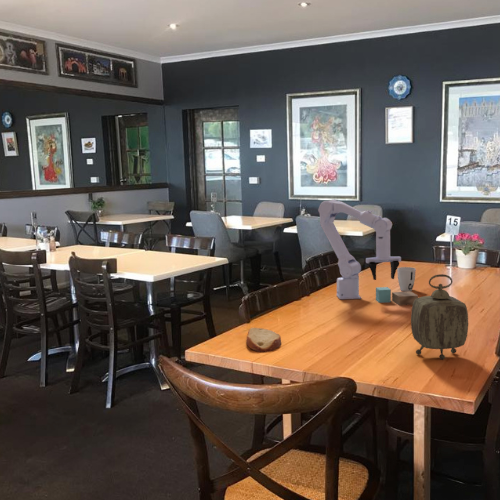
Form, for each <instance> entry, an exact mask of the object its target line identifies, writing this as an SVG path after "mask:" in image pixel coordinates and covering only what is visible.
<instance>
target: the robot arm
mask: <svg viewBox="0 0 500 500" xmlns="http://www.w3.org/2000/svg"><path fill="white" fill-rule="evenodd" d="M317 211H318V214H319V224H320V226H321V228H322V231H323V232H324V234H325V236H326V238H327V240H328V241H329V244H330V246H331V247H332V250H333V252H334V253H335V256H336V257H337V259H338V261H337V266H338V268H339V273H340V275H341V276H340V277H337V278H336V297H337V298H338V299H340V300H356V299H360V300H361V299H362V296H360V294H359V293H360V282H359V281H360V277H359V274H360V273H361V271H362V265H361V264H360V262H359V261H357V260H356V258H355V256H353V255H352V254H351V253H350V252H349V249H348V248H347V246H346V244H345V243H344V241H343V239H342V236H341V235H340V233H339V231H338V229H337V228H336V226H335V224H334V222H335V219H336V216H337V215H338V214H339V213H342V214H345V215H348V216H351V217H353V218H356V219H358V221H359V223H360V224H362V225H364V226H367V227H369V228H371V229H373V230H374V231H375V235H376V236H375V242H376V243H375V245H376V247H375V248H376V249H375V252H376V253H375V254H376V255H375V256H374V257H366V258H365V263H366V264H368V268H369V269H370V272H371V274H372V275H371V276H372V279H373V280H374V281H377V263H389V264H390V265H389V266H390V279H392V280H394V279H395V276H396V272H397V268H399V266H400V262H401V263H402V257H401V256H393V255H392V256H391V230H392V227H393V223H392V221H391V219H389V218H388V217H382V215H378V214H375V213H373V212H372V211H373V210H364V211H361V210H359V209H356V208H355V207H353V206H351V205H349V204H347V203H345V202H343V201H341V200H340V201H339V200H338V199H331V200H330V199H329V200H324V201H321V203H320V204H319V207H318V209H317Z"/></svg>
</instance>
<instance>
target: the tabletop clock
mask: <svg viewBox="0 0 500 500" xmlns="http://www.w3.org/2000/svg"><path fill="white" fill-rule="evenodd" d="M440 277H443V278H447V279H449V280H450V283H449V284H446V285H443V284H442V283H439V284H438V286H435V285H432V283H431V282H432V280H433V279H435V278H440ZM428 284H429V286H430V287H431V288H433V289H435V290H434V291H433V292H432V293H431V295H424V296H421V297H420V296H418V298H417V299H415V300H414V303H413V305H411V306H412V307H411V314H410V325H411V326H410V328H411V334H412V336H413V339H414V341H416V342H417V343H418V344H419V345H420V348H419V349H416V350H415V354H416V355H418V356H419V355H421V354H422V350H423V349H424V348H426V349H429V350H430V349H431V350H440V355H438V356H439V360H442V361H443V360H445V359H446V356H445V355H444V350H448V349H450V353H452V354H456V353H457V348H460V347H462V346H465V343H466V341H467V338H468V333H469V312H468V307H467V305H466V303H465V302H463V301H462V300H459V299H457V298H456V297H453V296H450V294H449V292H448V291H447V290H445V289H447V288H449V287H451V286H452V285H453V278H452V277H451V276H449V274H448V275H447V274H444V273H443V274H435V275H432V276H431V277H430V278H429V280H428Z"/></svg>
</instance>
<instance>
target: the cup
mask: <svg viewBox="0 0 500 500" xmlns="http://www.w3.org/2000/svg"><path fill="white" fill-rule="evenodd" d="M396 272H397V282H398V287H399V289H400V292H407V291H411V292H413V288H414V285H415V281H416V267H410V266H409V267H407V266H403V267H402V266H401V267H398V268H397V270H396Z"/></svg>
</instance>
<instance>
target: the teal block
mask: <svg viewBox="0 0 500 500" xmlns="http://www.w3.org/2000/svg"><path fill="white" fill-rule="evenodd" d="M375 301H376V302H377V303H378V304H379V303H382V304H383V303H391V302H392V289H391V288H390V287H388V286H383V287H379V286H377V287H375Z"/></svg>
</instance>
